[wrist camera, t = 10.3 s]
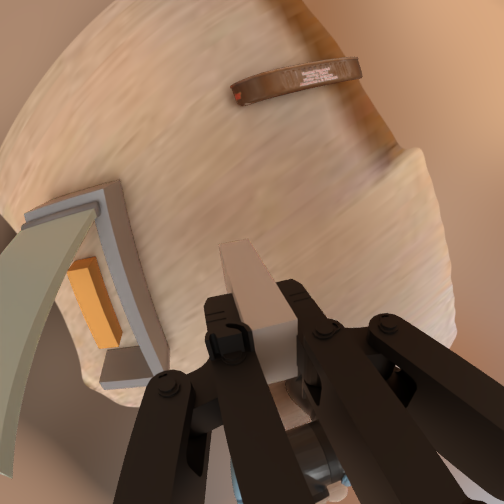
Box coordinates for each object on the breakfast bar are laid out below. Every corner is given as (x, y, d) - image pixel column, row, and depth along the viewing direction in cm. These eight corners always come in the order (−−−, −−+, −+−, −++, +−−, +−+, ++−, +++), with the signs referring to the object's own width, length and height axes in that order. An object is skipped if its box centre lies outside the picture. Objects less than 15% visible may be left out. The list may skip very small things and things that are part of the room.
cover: (17, 481, 4) (-8, 467, 3) (-69, 437, 2) (-85, 422, 2) (101, 212, 23) (97, 199, 22) (30, 233, 21) (25, 221, 21)
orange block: (122, 331, 36) (118, 346, 33) (104, 333, 35) (99, 348, 32) (96, 256, 31) (87, 267, 28) (75, 260, 31) (66, 271, 27)
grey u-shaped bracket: (169, 349, 38) (169, 383, 32) (111, 357, 37) (104, 389, 30) (120, 179, 28) (103, 188, 22) (51, 199, 27) (23, 213, 20)
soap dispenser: (299, 429, 56) (331, 501, 36) (322, 424, 57) (358, 491, 37) (293, 441, 58) (322, 508, 38) (316, 436, 60) (347, 499, 40)
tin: (333, 64, 28) (371, 49, 21) (341, 86, 30) (380, 76, 22) (224, 90, 27) (236, 72, 20) (233, 114, 29) (248, 104, 21)
